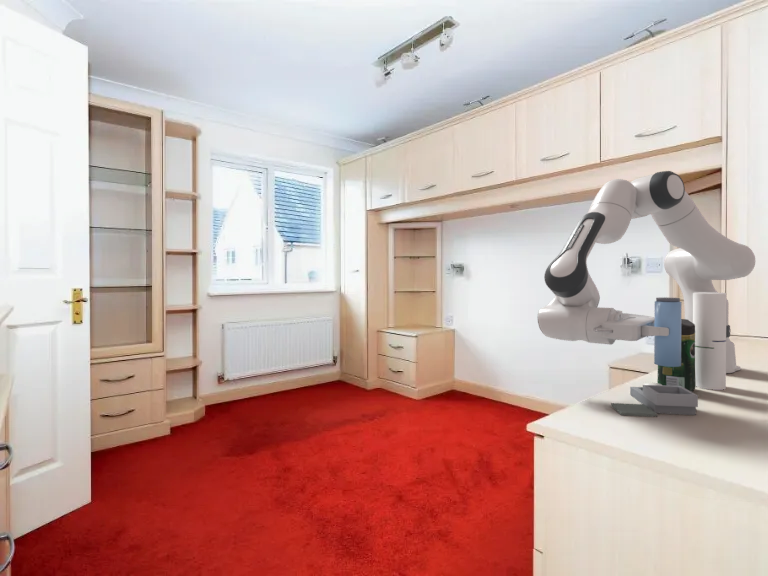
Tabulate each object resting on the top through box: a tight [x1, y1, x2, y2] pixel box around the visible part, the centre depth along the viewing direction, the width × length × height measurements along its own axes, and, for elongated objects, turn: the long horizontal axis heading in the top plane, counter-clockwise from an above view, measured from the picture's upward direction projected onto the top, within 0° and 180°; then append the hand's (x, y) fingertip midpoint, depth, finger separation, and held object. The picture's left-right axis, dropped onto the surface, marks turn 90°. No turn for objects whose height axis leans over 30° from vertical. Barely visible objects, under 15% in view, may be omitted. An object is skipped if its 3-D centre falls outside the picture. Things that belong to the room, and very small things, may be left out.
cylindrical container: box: [693, 292, 727, 391], centre depth 116 cm, size 7×7×25 cm
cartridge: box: [653, 296, 683, 367], centre depth 97 cm, size 5×5×15 cm
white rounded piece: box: [642, 381, 661, 386], centre depth 106 cm, size 4×4×3 cm
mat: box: [610, 402, 658, 417], centre depth 97 cm, size 7×7×1 cm
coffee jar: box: [656, 318, 697, 392], centre depth 114 cm, size 10×8×19 cm
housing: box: [629, 384, 699, 416], centre depth 101 cm, size 16×8×4 cm, turn 169°
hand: (672, 330), depth 96 cm, fingers closed on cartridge, 5 cm apart
